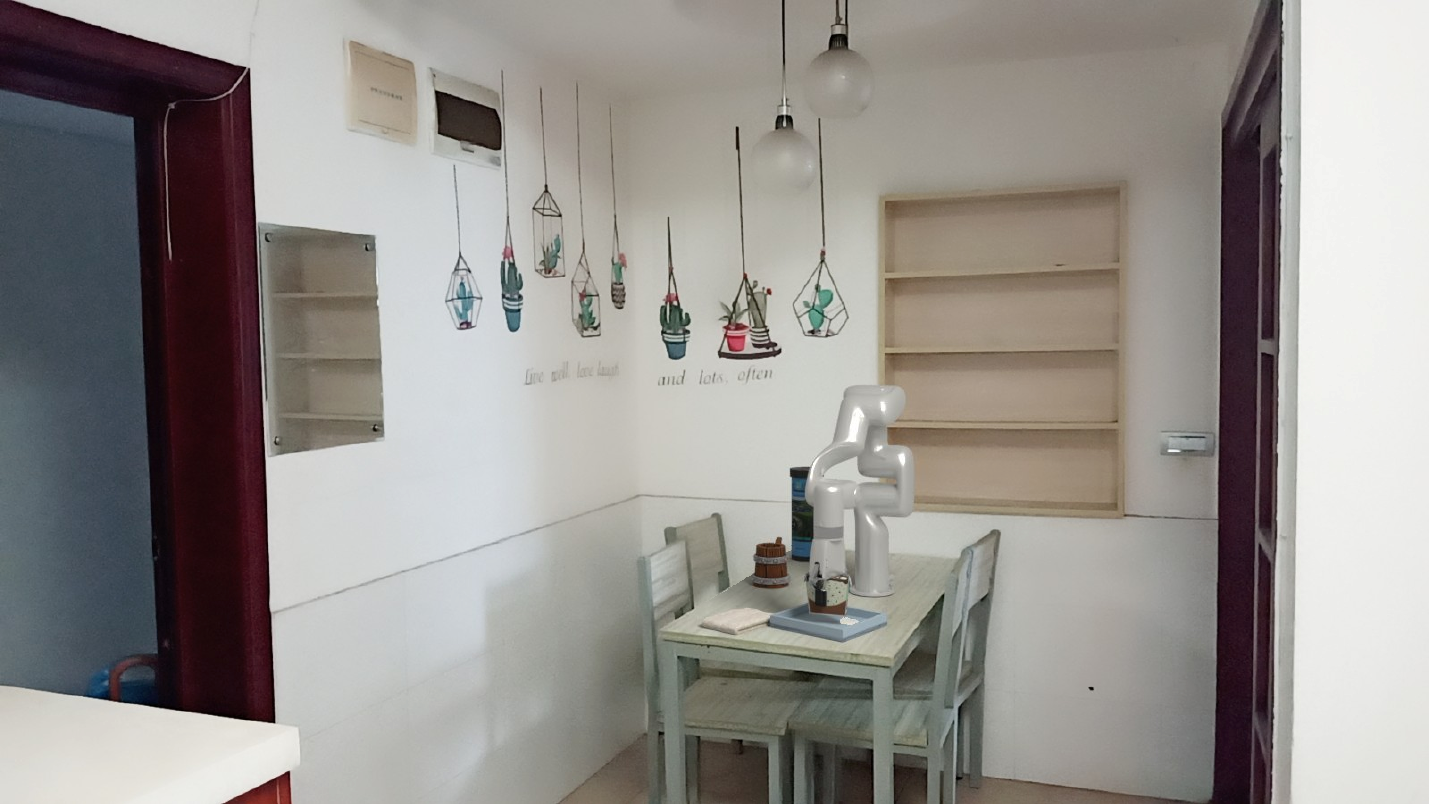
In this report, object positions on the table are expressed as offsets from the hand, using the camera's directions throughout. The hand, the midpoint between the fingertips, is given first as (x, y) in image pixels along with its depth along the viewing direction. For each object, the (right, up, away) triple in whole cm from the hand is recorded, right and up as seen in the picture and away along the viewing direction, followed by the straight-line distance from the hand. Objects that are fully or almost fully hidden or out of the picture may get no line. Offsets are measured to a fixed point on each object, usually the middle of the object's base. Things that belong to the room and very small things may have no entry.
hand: (828, 602), depth 267 cm
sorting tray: (0, -6, 0) cm, 6 cm away
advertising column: (+2, -1, +84) cm, 84 cm away
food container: (+1, -3, +1) cm, 3 cm away
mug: (-12, -4, +48) cm, 50 cm away
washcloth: (-22, -7, +2) cm, 23 cm away
